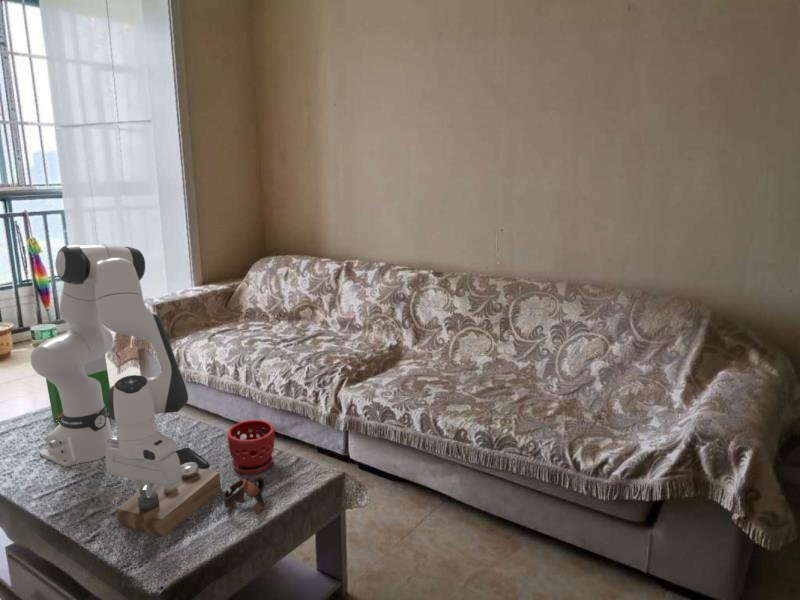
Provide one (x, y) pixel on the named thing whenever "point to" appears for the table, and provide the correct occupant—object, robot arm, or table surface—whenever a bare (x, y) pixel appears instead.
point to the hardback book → (93, 370)
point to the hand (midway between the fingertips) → (146, 494)
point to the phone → (191, 458)
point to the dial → (170, 489)
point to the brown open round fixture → (249, 489)
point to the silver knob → (189, 470)
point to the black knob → (148, 502)
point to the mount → (170, 505)
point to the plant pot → (251, 446)
